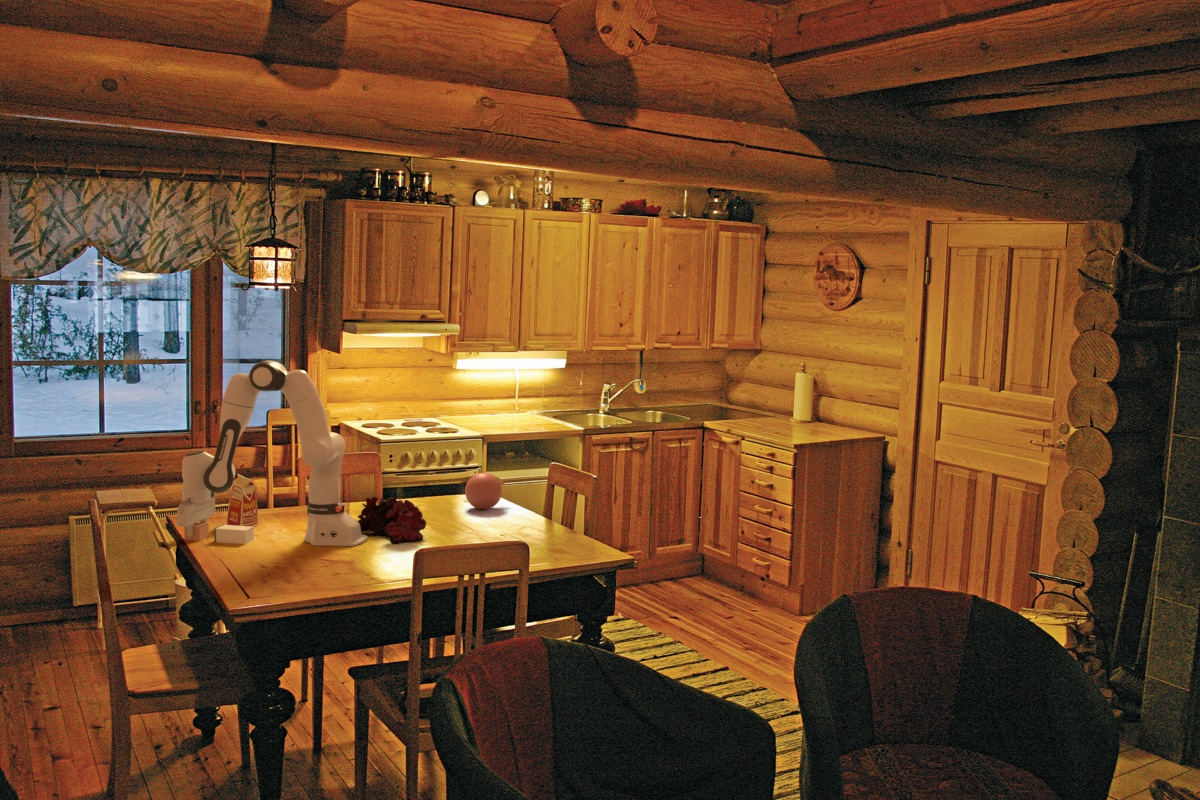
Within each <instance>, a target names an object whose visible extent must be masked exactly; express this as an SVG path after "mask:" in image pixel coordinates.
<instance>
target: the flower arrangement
mask: <svg viewBox="0 0 1200 800" xmlns="http://www.w3.org/2000/svg"><path fill="white" fill-rule="evenodd" d="M378 500H379V498H378V497H376V496H372V497H366V498H365V503H362V504H361V505H362V506H363V508H362V510H361V512H360V514H359V515H357V518H358V519H355V520H356V521H358V522H359V524H360V528H361V534H362V535H367V537H383V538H384V537H385V538H387V539H388V540H389V541H390V543H391V544H392V545H399V544H406V543H413V544H414V543H420V542H422V541H424V535H423V534H422V533H421V531H422V530H425V528H426V527H427V520H426V519H425V518H423V512H422V511H420V509H419V507H418V506H415V504H414V502H412V501H410V500H408V499H404V501H403V500H400V499H398V500H397V499H396V498H395V497H392V496H390V497H385V499H384V496H381V498H380V500H379V501H378ZM366 531H373V532H366ZM421 540H422V541H421ZM419 541H420V542H419Z"/></svg>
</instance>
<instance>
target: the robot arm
mask: <svg viewBox="0 0 1200 800" xmlns="http://www.w3.org/2000/svg"><path fill="white" fill-rule="evenodd" d="M278 391H280V392H281V393H283V395H284V396H285V398H286V400H287V402H288V405H289V408H290V412H291V414H292V416H293V419H294V421H295V423H296V427H297V430H298V435H299V441H300V445H301V458H302V460H303V462H304V463H305V464H306V465H307V466H309V467H311V470H310V471H311V472H310V475H309V478H308V501H307V504H306V505H307V506H306V508H307V509H306V510H307V527H306V531H305V535H304V540H303V541H304V542H305V543H309V544H310V545H311V546H314V547H315V546H318V547H319V546H321V547H323V546H325V547H326V546H327V547H328V546H329V547H331V546H332V547H353V546H359V545H361V544H363V543H365V542H366V541H368V536H367V535H362V534H361V533H362V532H361V528H360V524H359V522H358V521H359V520H357V519H355V518H354V517H352V516H351V515H350V514H349V513H348V512H346V511H345V509H346V506H347V502H346V503H343V502H342V501H341V497H340V496H341V487H340V486H341V475H342V468H343V461H344V454H345V449H346V440H345V439H344V437H343V436H342V435H341V434H339V433H336V432H333V431H329V427H328V426H329V425H328V421H327V418H328V415H327V412H326V411H327V410H326V409H325V407H324V404H323V402H322V400H321V399H322V398H321V397H320V395H319V392H318V389H317V387H316V386H315V383H314V382H313V380H312V379H311V377H310V375H309V374H308V372H307V371H305V370H304V369H293V370H290V371H289V370H288V368H287V366H286V365H284V363H282V362H280V361H278V360H263V361H259V362H256V363H255V364H254V365H253V366H252V367H251V369H250V371H249V373H245V372H244V373H243V372H239V373H238V372H237V373H235V374H233V375H232V376H231V377H230V380H229V381H228V384H227V385H226V389H225V392H224V395H223V399H222V401H221V407H220V413H219V415H220V417H219V418H220V419H219V439H218V442H217V446H216V450H215V454H214V455H212V454H210V453H208V452H207V451H205V450H195V451H190V452H188V453H186V454H185V455H184V456H183V458H182V464H181V465H182V466H181V477H182V480H183V481H182V482H183V483H182V484H183V485H182V487H181V488H182V492H181V493H182V500H181V501H180V504H179V505H178V506H177V512H176V524H177V526H178V527H185V528H186V530H187V532H188V536H193V535H194V531H193V529H192V527H193V524H194V523H207V522H208V518H211V517H213V516H214V515H215V512H216V499H215V497H217V496H216V495H217V494H221V493H225V492H227V491H228V490H229V489H231V488H232V484H233V482H234V481H235V480H234V479H235V476H236V473H237V472H236V470H237V469H236V466H235V464H234V463H233V461H234V457H235V453H236V450H237V446H238V443H239V439H240V438H241V435H242V434H243V433H244V431H245V429H246V428H247V426H248V424H249V423H250V421H251V418H252V415H253V412H254V408H255V405H256V401H257V398H258V396H259V394H260V393H261V392H278ZM216 493H217V494H216ZM356 520H357V521H356Z"/></svg>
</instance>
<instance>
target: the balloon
mask: <svg viewBox="0 0 1200 800" xmlns="http://www.w3.org/2000/svg"><path fill="white" fill-rule="evenodd" d="M468 479H469V480H468V481H467V482H466V484H465V487H464V494H465V498H466V501H467V502H468V503H469V504H470V505H471V506H472V507H473V508H475V509H478V510H484V511H485V510H488V509H492V508H494V506H496V505H497V504H498V503H499V502H500V499H501V498H502V494H503V490H502V489H503V488H502V485H504V484H505V482H504V481H499V479H498V478H497V477H496V476H495V475H494V474H491V473H487V472H479V473H476V474H474V475H472V476H471V477H470V478H468Z"/></svg>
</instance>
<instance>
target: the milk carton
mask: <svg viewBox="0 0 1200 800" xmlns="http://www.w3.org/2000/svg"><path fill="white" fill-rule="evenodd" d="M252 481H253V479H251V478H247V477H245V476H243V475H241V474H239V473H237V478H236V479H235V480H233V484H232V486H231V488H230V490H231V491H230V496H229V502H228V506H227V507H228V508H227V514H226V522H225V525H235V526H250V527H254V528H255V527H257V526H258V525H259V523H260V522H259V509H258V501H257V494H256V488H255V487H256V486H255V484H254V482H252Z"/></svg>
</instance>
